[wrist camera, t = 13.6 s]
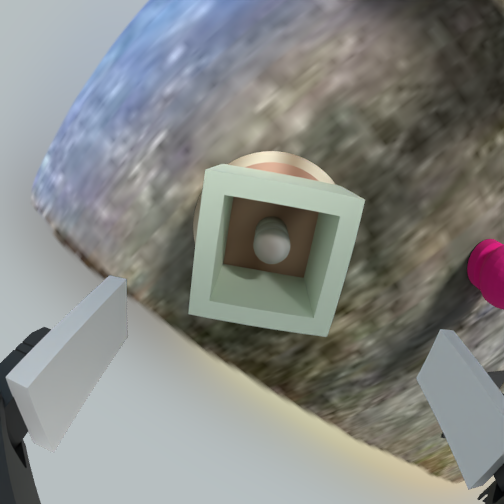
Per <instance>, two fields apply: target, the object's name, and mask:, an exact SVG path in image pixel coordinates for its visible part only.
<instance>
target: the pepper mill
mask: <svg viewBox="0 0 504 504" xmlns="http://www.w3.org/2000/svg"><path fill="white" fill-rule="evenodd" d="M467 273H468V277H469V280H470V281H471V283H472V284H473V285H474V286H476V287H477V288H478V289H479V290H481V293H482V295H483V297H484V298H485V300H486V301H487V302H489V303H490V304H492V305H493V306H495V307H497V308H500V309H504V245H503V244H502V243H500V242H498V241H496V240H494V239H487V240H484V241H482V242H481V243H479V244H478V245H477V246H476V247H475V249H474V250H473V251H472V253H471V256H470V258H469V261H468V266H467Z"/></svg>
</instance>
